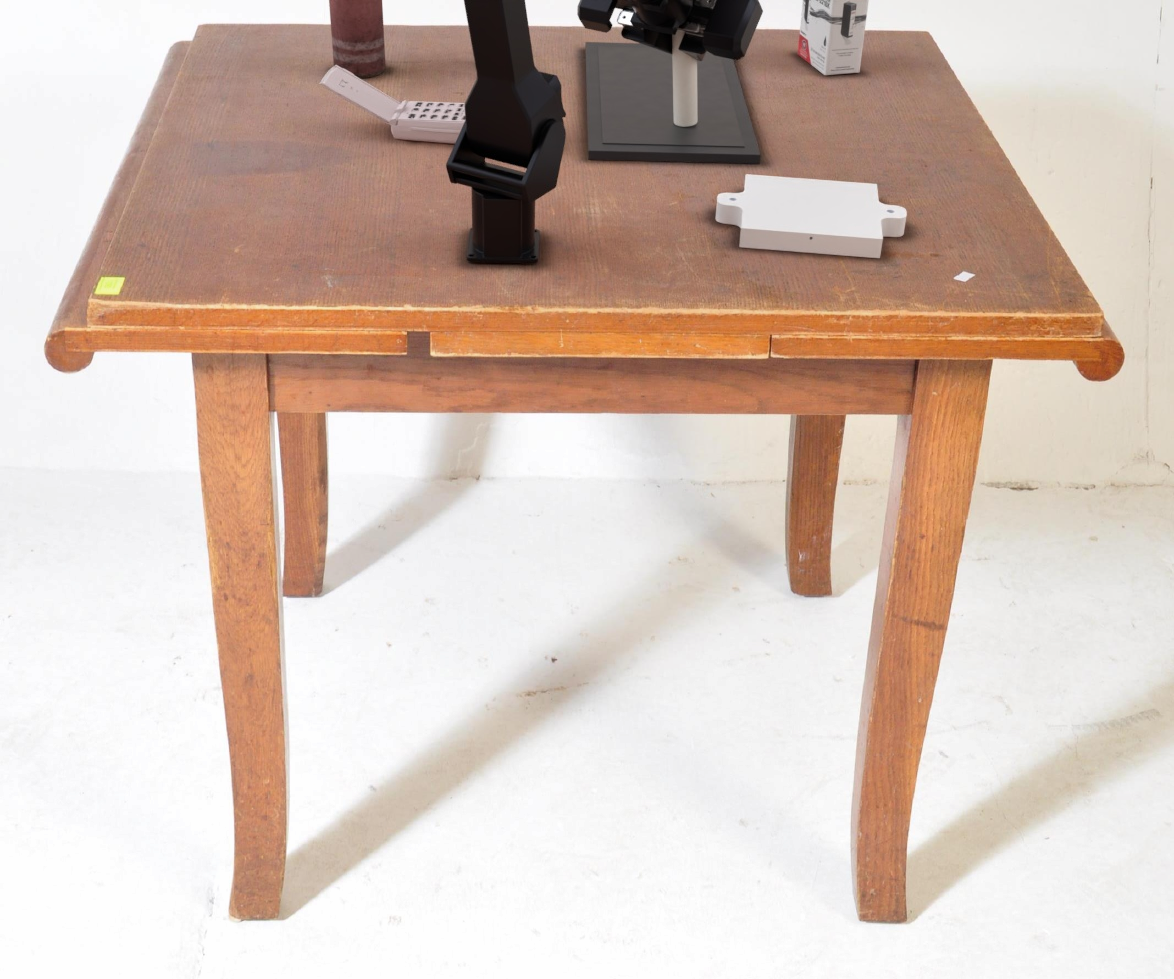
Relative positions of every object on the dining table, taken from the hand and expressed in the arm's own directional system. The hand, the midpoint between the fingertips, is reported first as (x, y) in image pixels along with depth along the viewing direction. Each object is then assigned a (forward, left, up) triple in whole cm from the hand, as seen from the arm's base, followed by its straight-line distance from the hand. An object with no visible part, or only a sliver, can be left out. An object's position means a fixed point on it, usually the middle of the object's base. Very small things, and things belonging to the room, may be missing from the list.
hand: (690, 54), depth 153 cm
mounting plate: (-24, -10, -9) cm, 28 cm away
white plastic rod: (-1, 0, -7) cm, 7 cm away
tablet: (+9, +2, -8) cm, 12 cm away
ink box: (+24, -19, -9) cm, 32 cm away
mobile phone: (-3, +27, -9) cm, 28 cm away
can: (+17, +38, -9) cm, 42 cm away
